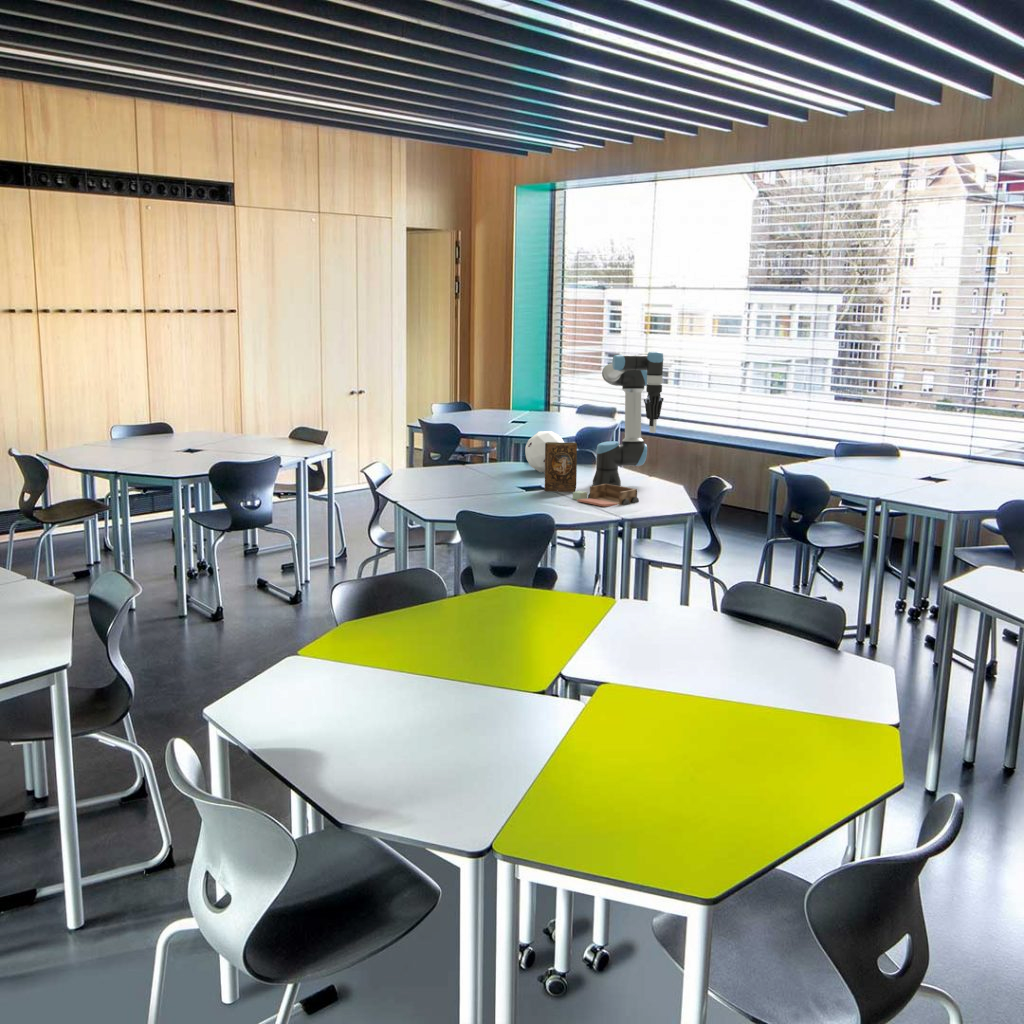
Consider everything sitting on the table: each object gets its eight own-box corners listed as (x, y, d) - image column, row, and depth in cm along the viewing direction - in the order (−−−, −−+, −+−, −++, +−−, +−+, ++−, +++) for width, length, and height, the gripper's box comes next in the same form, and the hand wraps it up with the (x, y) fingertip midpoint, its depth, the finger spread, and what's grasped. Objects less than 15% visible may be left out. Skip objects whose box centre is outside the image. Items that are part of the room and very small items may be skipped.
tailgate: (590, 498, 487) (577, 499, 480) (617, 503, 475) (604, 504, 468) (590, 500, 487) (577, 501, 480) (617, 506, 475) (603, 507, 468)
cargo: (579, 500, 492) (579, 490, 491) (587, 502, 488) (587, 492, 487) (572, 501, 488) (572, 491, 487) (580, 503, 485) (580, 493, 484)
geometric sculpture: (543, 466, 588) (568, 434, 581) (555, 488, 568) (581, 455, 561) (511, 448, 576) (536, 415, 568) (522, 469, 556) (548, 436, 548)
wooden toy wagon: (603, 497, 498) (603, 483, 497) (639, 504, 482) (639, 489, 480) (587, 501, 490) (587, 486, 488) (623, 508, 474) (624, 492, 472)
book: (544, 491, 513) (544, 443, 508) (544, 489, 518) (545, 442, 513) (575, 492, 511) (576, 444, 506) (576, 490, 517) (577, 442, 511)
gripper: (656, 382, 485) (654, 430, 490) (639, 384, 476) (638, 432, 481) (668, 383, 480) (666, 432, 485) (652, 385, 471) (650, 434, 476)
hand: (652, 432), depth 483 cm, fingers closed
